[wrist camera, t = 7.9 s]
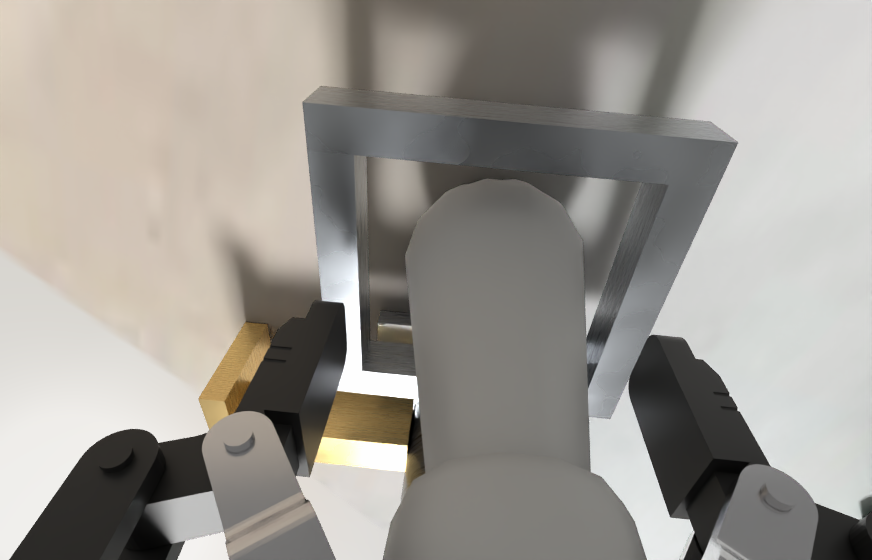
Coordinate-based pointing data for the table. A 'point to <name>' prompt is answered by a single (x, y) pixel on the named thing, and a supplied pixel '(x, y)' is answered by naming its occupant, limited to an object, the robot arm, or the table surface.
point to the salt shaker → (503, 387)
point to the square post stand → (491, 148)
